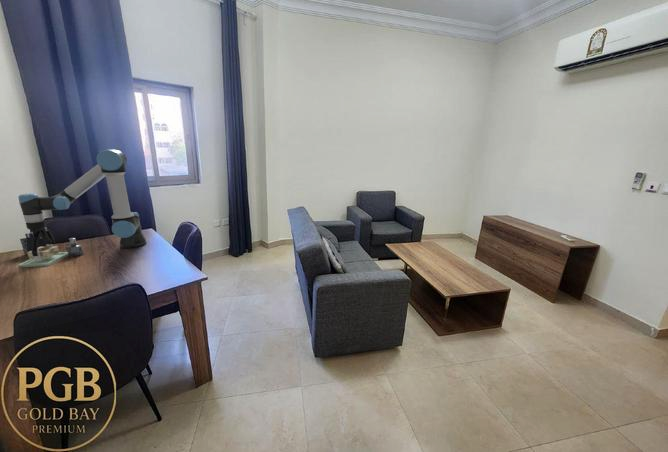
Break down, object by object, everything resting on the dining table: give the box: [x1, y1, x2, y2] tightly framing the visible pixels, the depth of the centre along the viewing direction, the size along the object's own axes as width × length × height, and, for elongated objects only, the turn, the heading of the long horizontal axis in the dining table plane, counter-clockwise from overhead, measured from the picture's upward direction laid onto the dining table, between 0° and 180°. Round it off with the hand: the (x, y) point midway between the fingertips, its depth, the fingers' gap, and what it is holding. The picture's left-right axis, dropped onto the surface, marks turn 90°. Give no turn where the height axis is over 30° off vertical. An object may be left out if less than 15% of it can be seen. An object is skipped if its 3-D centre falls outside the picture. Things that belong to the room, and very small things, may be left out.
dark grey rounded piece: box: [65, 237, 85, 258], centre depth 167 cm, size 7×7×11 cm
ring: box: [27, 245, 60, 260], centre depth 158 cm, size 9×9×4 cm
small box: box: [19, 237, 47, 256], centre depth 167 cm, size 11×6×10 cm, turn 84°
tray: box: [17, 251, 69, 268], centre depth 159 cm, size 14×18×2 cm
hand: (45, 257), depth 159 cm, fingers open, 9 cm apart
